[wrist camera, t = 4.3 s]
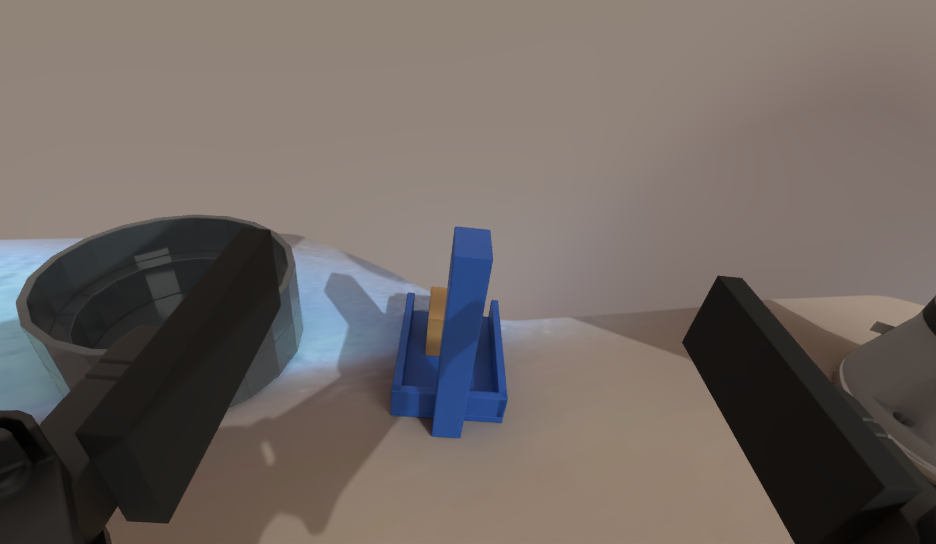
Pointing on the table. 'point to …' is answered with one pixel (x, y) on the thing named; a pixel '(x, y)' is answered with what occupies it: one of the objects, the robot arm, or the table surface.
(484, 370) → the scoop
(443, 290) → the block
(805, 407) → the robot arm
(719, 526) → the table surface
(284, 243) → the grey round bin
